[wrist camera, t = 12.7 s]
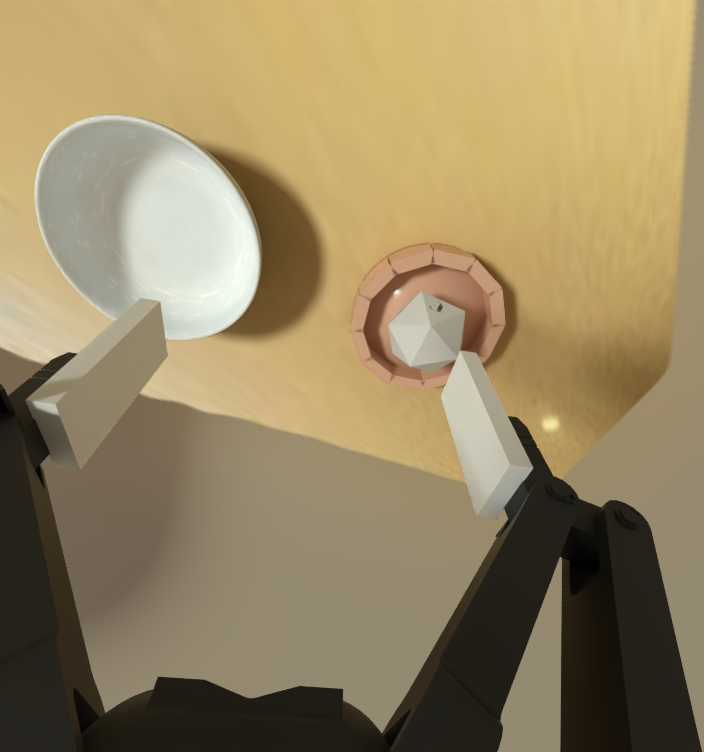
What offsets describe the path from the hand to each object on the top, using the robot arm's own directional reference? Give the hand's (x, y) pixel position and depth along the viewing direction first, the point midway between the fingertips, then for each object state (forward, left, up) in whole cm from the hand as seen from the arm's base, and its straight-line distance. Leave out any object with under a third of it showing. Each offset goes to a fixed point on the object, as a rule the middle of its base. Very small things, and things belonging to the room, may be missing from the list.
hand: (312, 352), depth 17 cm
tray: (+9, +13, -29) cm, 33 cm away
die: (+9, +13, -28) cm, 32 cm away
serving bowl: (+5, -17, -29) cm, 34 cm away
